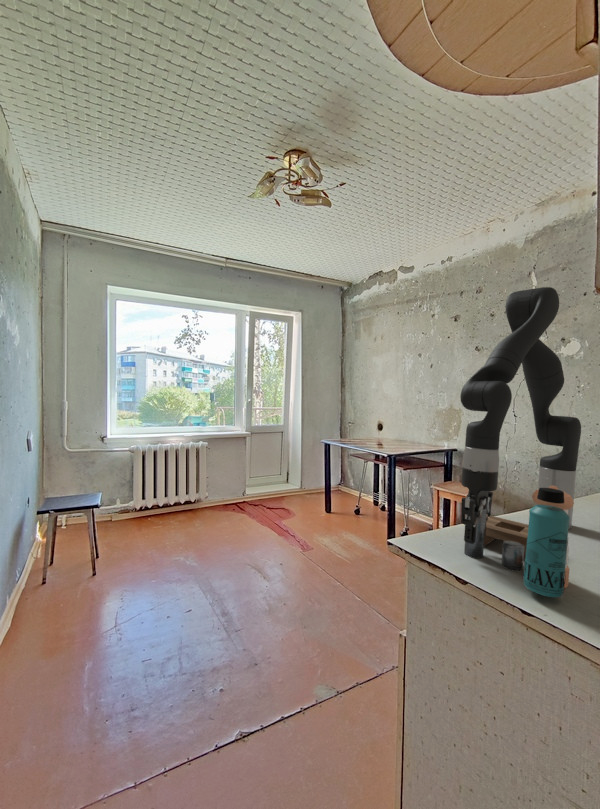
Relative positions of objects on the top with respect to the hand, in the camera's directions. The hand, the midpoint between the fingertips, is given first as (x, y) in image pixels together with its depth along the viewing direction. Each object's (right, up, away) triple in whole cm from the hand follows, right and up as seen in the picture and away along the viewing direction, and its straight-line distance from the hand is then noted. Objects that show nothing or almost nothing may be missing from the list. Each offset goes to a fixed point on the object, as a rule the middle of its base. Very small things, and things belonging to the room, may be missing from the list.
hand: (474, 538), depth 87 cm
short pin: (+6, -4, -5) cm, 9 cm away
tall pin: (0, -4, 0) cm, 4 cm away
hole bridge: (+12, -4, +7) cm, 14 cm away
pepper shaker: (+10, -5, -11) cm, 15 cm away
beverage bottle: (+4, -4, -18) cm, 19 cm away
